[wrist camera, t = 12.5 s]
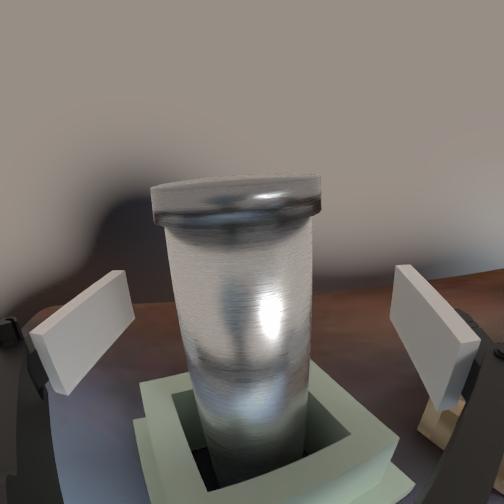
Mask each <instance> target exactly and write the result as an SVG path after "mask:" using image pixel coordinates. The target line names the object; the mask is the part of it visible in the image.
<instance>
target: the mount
mask: <svg viewBox="0 0 504 504" xmlns="http://www.w3.org/2000/svg"><path fill="white" fill-rule="evenodd" d="M465 403H466V402H465V400H464V398H463V396H462V395H461V397H460V399H459V401H458V404H457V406H456V408H453V409H449V410H444V411H439V412H437V411H436V409H435V407H434V405H433V403H432V400H431V398H429V400H428V403H427V406H426V408H425V411H424V413H423V416H422V418H421V421H420V423H419V426H418V428H417V430H418V431H419V432H420V433H422V434H423V435H424V436H426V437H427V438H428V439H429V440H431V441H432V442H433V443H435V444H436V445H437V446H438V447H440V448H441V449H442V450H445V448H446V446H447V444H448V442H449V439H450V437H451V435H452V433H453V431H454V428H455V426H456V425H455V424H456V422H457V420H458V418H459V416H460V414H461V412H462V409H463V407H464V405H465ZM493 488H495V489H496V490H498V491H499V492H500V493H502V494H503V495H504V454H503V458H502V461H501V464H500V467H499V471H498V474H497V477H496V480H495V482H494V485H493Z"/></svg>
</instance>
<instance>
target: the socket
mask: <svg viewBox="0 0 504 504" xmlns="http://www.w3.org/2000/svg"><path fill="white" fill-rule="evenodd" d="M139 384H140V390H141V395H142V400H143V406H144V410H145V415H146V417H144V418H139V419H134V420H133V424H134V430H135V435H136V441H137V446H138V451H139V456H140V460H141V465H142V469H143V474H144V478H145V482H146V486H147V490H148V494H149V498H150V502H151V504H395V503H397V502H398V501H400V500H401V499H402V498H404V497H405V496H406V495H408V494H409V493H410V492H411V490H412V489H413V487H414V486H415V483H414V482H413V481H412V480H411V479H410V478H408V477H407V476H406V475H405V474H404V473H403V472H402V471H401V470H399V469H398V468H397V467H396V466H395V465H394V464H393V463H392V462H391V461H390V460H391V458H392V456H393V453H394V451H395V449H396V446H397V444H398V442H399V439H400V437H398V436H397V435H396V434H395V433H394V432H393V431H391V430H390V429H389V428H388V427H387V426H386V425H384V424H383V423H382V422H381V421H380V420H379V419H377V418H376V417H375V416H374V415H373V414H372V413H370V412H369V411H368V410H367V409H366V408H365V407H364V406H362V405H361V404H360V403H359V402H358V401H357V400H356V399H354V398H353V397H352V396H351V395H350V394H349V393H348V392H346V391H345V390H344V389H343V388H342V387H341V386H340V385H339V384H338V383H336V382H335V381H334V380H333V379H332V378H331V377H330V376H329V375H327V374H326V373H325V372H324V371H323V370H322V369H321V368H320V367H319V366H318V365H316V364H315V363H314V362H313V361H312V360H311V359H310V368H309V387H308V402H307V416H306V429H305V441H304V450H305V451H306V452H307V453H308V455H309V456H307V457H305V458H303V459H300V460H298V461H296V462H294V463H291V464H289V465H286V466H284V467H282V468H279V469H277V470H274V471H271V472H269V473H266V474H264V475H261V476H258V477H255V478H252V479H250V480H247V481H244V482H241V483H238V484H235V485H231V486H228V487H225V488H221V489H218V490H215V491H211V492H207V489H206V487H205V485H204V482H203V480H202V478H201V475H200V473H199V470H198V468H197V465H196V463H195V461H194V458H193V455H192V453H191V451H193V450H197V449H201V448H204V447H207V443H206V439H205V436H204V432H203V428H202V424H201V420H200V416H199V412H198V408H197V404H196V400H195V396H194V392H193V387H192V383H191V379H190V374H189V372H186V373H182V374H178V375H174V376H169V377H165V378H160V379H155V380H151V381H146V382H141V383H139Z"/></svg>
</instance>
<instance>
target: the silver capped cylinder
mask: <svg viewBox="0 0 504 504" xmlns="http://www.w3.org/2000/svg"><path fill="white" fill-rule="evenodd" d="M150 189H151V198H152V207H153V216H154V222H155V223H156V224H157V225H159V226H163V227H165V235H166V242H167V250H168V257H169V263H170V271H171V277H172V284H173V290H174V296H175V302H176V308H177V314H178V319H179V325H180V330H181V335H182V340H183V345H184V350H185V355H186V360H187V365H188V369H189V374H190V379H191V383H192V387H193V392H194V396H195V400H196V404H197V408H198V412H199V416H200V420H201V424H202V428H203V432H204V436H205V439H206V443H207V447H208V450H209V454H210V457H211V461H212V464H213V468H214V471H215V474H216V478H217V481H218V484H219V486H220V488H225V487H228V486H231V485H235V484H238V483H241V482H244V481H247V480H250V479H252V478H255V477H258V476H261V475H264V474H266V473H269V472H271V471H274V470H277V469H279V468H282V467H284V466H286V465H289V464H291V463H294V462H296V461H298V460H300V459H303V452H304V441H305V429H306V416H307V402H308V387H309V368H310V346H311V315H312V216H314V215H315V214H318V213H319V212H320V211H321V210H322V208H321V176H320V175H315V174H299V173H276V174H275V173H274V174H248V175H233V176H221V177H210V178H202V179H193V180H185V181H179V182H173V183H167V184H162V185H157V186H154V187H151V188H150Z"/></svg>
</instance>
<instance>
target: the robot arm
mask: <svg viewBox="0 0 504 504" xmlns="http://www.w3.org/2000/svg"><path fill="white" fill-rule="evenodd" d="M134 319H135V316H134V312H133V307H132V303H131V299H130V294H129V289H128V285H127V280H126V274H125V271H122V270H120V271H119V270H114V271H111V272H110V273H108V274H107V275H105V276H104V277H103V278H101V279H100V280H98V281H97V282H96V283H94V284H93V285H91V286H90V287H89V288H87V289H86V290H85V291H83V292H82V293H80V294H79V295H78V296H76V297H75V298H74V299H72V300H71V301H70V302H68V303H67V304H66V305H64V306H63V307H62V308H60V309H59V310H58V311H56V312H55V313H54V314H52V315H51V316H50V317H48V318H47V319H46V320H45V321H43V322H42V323H41V324H39V325H38V326H37V327H36V328H34V329H33V330H32V331H31V332H29V335H28V336H27V337H25V338H24V337H23V334H22V331H21V329H20V326H19V323H18V321H17V318H15V317H6V318H3V319H0V504H64V502H63V498H62V493H61V489H60V484H59V479H58V474H57V469H56V463H55V457H54V451H53V443H52V436H51V427H50V417H49V404H48V392H47V389H46V387H45V384H46V383H47V381H48V380H49V381H50V383H51V385H52V387H53V389H54V391H55V392H57V393H60V394H64V395H67V396H68V395H69V394H70V393H71V392H72V390H73V389H74V388H75V387H76V386H77V384H78V383H79V382H80V381H81V380H82V379H83V377H84V376H85V375H86V374H87V373H88V372H89V370H90V369H91V368H92V367H93V366H94V365H95V363H96V362H97V361H98V360H99V359H100V358H101V356H102V355H103V354H104V353H105V352H106V351H107V350H108V348H109V347H110V346H111V345H112V344H113V343H114V342H115V340H116V339H117V338H118V337H119V336H120V335H121V334H122V333H123V331H124V330H125V329H126V328H127V327H128V326H129V325H130V324H131V322H132V321H133V320H134ZM390 320H391V322H392V324H393V326H394V327H395V329H396V331H397V333H398V335H399V337H400V339H401V340H402V342H403V344H404V346H405V348H406V350H407V352H408V354H409V356H410V358H411V360H412V362H413V364H414V365H415V367H416V369H417V371H418V373H419V375H420V378H421V380H422V382H423V384H424V386H425V388H426V390H427V392H428V394H429V396H430V398H431V400H432V403H433V405H434V407H435V409H436V411H437V412H439V411H444V410H449V409H453V408H456V406H457V404H458V401H459V399H460V397H461V395H462V396H463V398H464V400H465V402H466V403H465V405H464V407H463V409H462V412H461V414H460V416H459V418H458V420H457V422H456V424H455V425H456V426H455V428H454V431H453V433H452V435H451V437H450V439H449V442H448V444H447V446H446V448H445V450H444V452H443V454H442V456H441V458H440V460H439V462H438V463H437V465H436V467H435V469H434V471H433V473H432V474H431V476H430V478H429V480H428V481H427V483H426V485H425V487H424V488H423V490H422V492H421V493H420V495H419V496H418V498H417V500H416V501H415V503H414V504H487V501H488V499H489V496H490V493H491V491H492V488H493V485H494V482H495V480H496V477H497V474H498V471H499V467H500V464H501V461H502V458H503V454H504V343H501V342H498V343H494V342H493V341H492V340H491V339H490V337H489V336H488V335H487V334H486V333H485V332H484V331H483V330H482V329H481V328H479V325H478V324H477V323H476V322H474V320H473V319H472V318H471V317H470V316H469V315H468V314H467V313H465V312H463V311H461V310H460V309H453V308H452V307H451V306H450V305H449V304H448V303H447V301H446V300H445V299H444V298H443V297H442V296H441V295H440V294H439V293H438V292H437V291H436V290H435V289H434V288H433V287H432V286H431V285H430V284H429V283H428V282H427V281H426V280H425V279H424V278H423V277H422V276H421V275H420V274H419V273H418V272H417V271H416V270H415V269H414V268H413V267H412V266H411V265H396V267H395V277H394V287H393V295H392V303H391V311H390Z"/></svg>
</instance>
